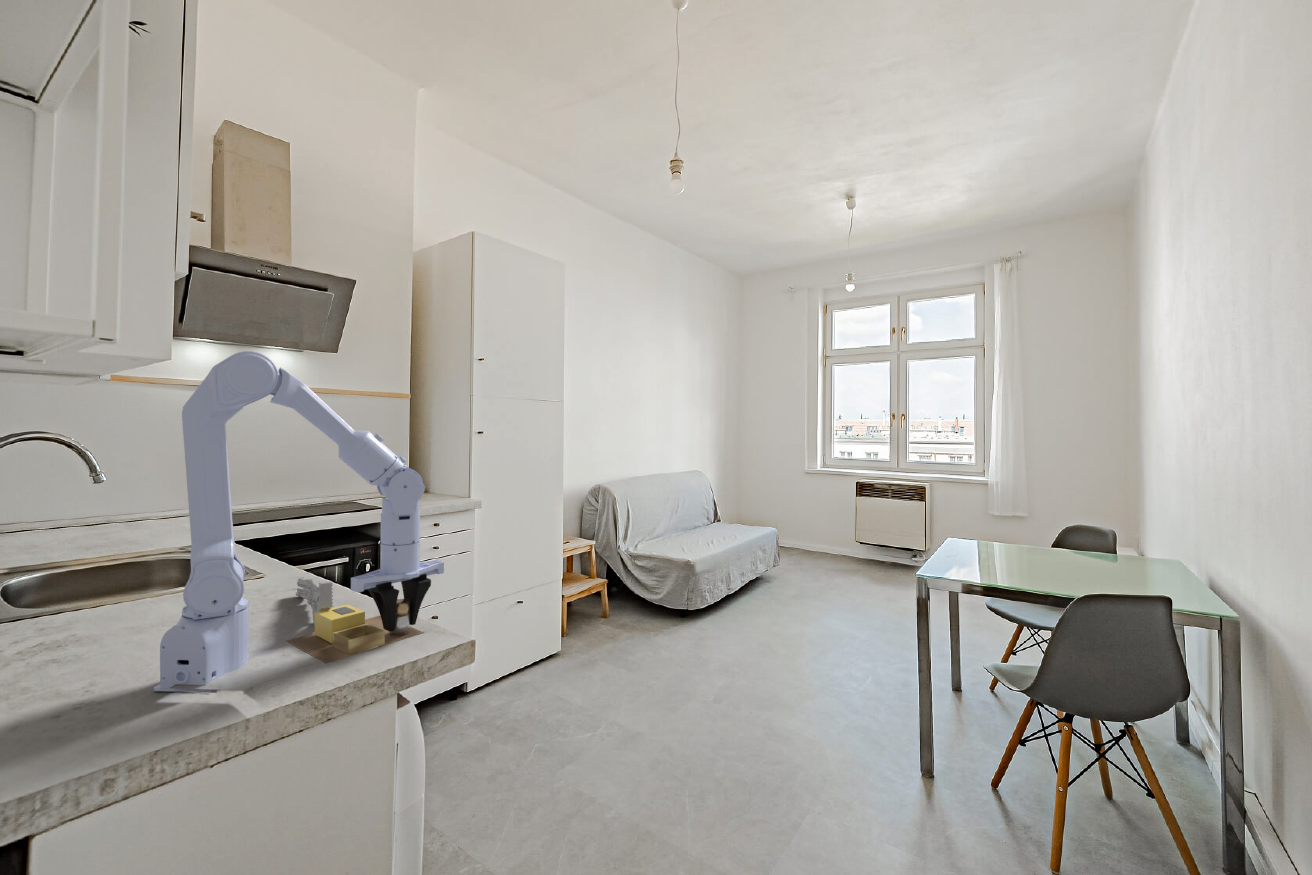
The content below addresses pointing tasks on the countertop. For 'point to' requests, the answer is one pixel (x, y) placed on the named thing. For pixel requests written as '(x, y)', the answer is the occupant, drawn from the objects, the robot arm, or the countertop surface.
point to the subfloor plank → (349, 641)
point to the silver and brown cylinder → (402, 618)
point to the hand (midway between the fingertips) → (399, 626)
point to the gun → (316, 594)
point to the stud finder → (337, 620)
